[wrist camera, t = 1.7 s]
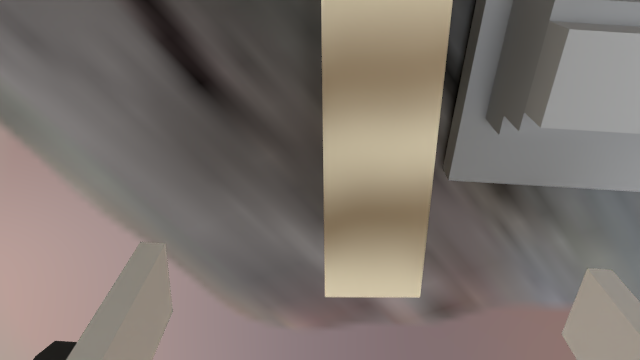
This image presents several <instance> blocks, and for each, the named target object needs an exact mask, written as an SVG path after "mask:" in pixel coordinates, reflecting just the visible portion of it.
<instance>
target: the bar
mask: <svg viewBox="0 0 640 360" xmlns="http://www.w3.org/2000/svg"><path fill="white" fill-rule="evenodd" d="M452 2H453V0H321V20H322V98H323V176H324V254H325V297H420V292H421V283H422V274H423V265H424V256H425V247H426V238H427V229H428V219H429V210H430V201H431V192H432V183H433V174H434V165H435V156H436V147H437V138H438V129H439V120H440V111H441V102H442V93H443V84H444V75H445V66H446V57H447V48H448V38H449V29H450V20H451V11H452Z"/></svg>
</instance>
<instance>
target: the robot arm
mask: <svg viewBox="0 0 640 360" xmlns="http://www.w3.org/2000/svg"><path fill="white" fill-rule="evenodd" d="M172 312H173V309H172V299H171V290H170V281H169V272H168V263H167V254H166V245H165V243H150V242H140V244H139V245H138V247H137V248H136V250H135V252H134V253H133V255H132V256H131V258H130V260H129V261H128V263H127V264H126V266H125V267H124V269H123V271H122V272H121V274H120V275H119V277H118V279H117V280H116V282H115V283H114V285H113V286H112V288H111V290H110V291H109V293H108V295H107V296H106V297H105V299H104V301H103V302H102V304H101V306H100V307H99V309H98V310H97V312H96V313H95V315H94V317H93V318H92V320H91V321H90V323H89V324H88V326H87V328H86V329H85V331H84V332H83V334H82V336H81V337H80V339H79V340H78V342H65V341H54V342H53V343H52V344H50V345H49V346H48V347H47V348H45V349H44V350H43V351H42V352H40V353H39V354H38V355H37V356H35V358H34V359H33V360H152V359H153V357H154V355H155V352H156V350H157V348H158V345H159V343H160V340H161V338H162V336H163V334H164V331H165V329H166V326H167V324H168V322H169V319H170V317H171V315H172ZM562 335H563V337H564V339H565V340H566V342H567V344H568V345H569V347H570V349H571V350H572V352H573V354H574V356H575V357H576V359H577V360H640V302H639V301H638V300H637V299H636V297H635V296H634V295H633V294H632V293H631V292H630V290H629V289H628V288H627V287H626V286H625V285H624V283H623V282H622V281H621V280H620V279H619V278H618V276H617V275H616V274H615V273H614V272H613V271H612V270H608V269H591V268H587V270H586V273H585V276H584V278H583V281H582V283H581V286H580V288H579V291H578V293H577V296H576V299H575V301H574V304H573V306H572V309H571V311H570V314H569V317H568V319H567V322H566V324H565V327H564V330H563V332H562Z"/></svg>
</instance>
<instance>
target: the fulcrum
mask: <svg viewBox="0 0 640 360" xmlns="http://www.w3.org/2000/svg"><path fill="white" fill-rule="evenodd" d="M443 170H444V172H445V174H446V176H447V178H448V180H451V181H467V182H484V183H501V184H518V185H535V186H551V187H568V188H585V189H602V190H619V191H635V192H640V0H476V5H475V10H474V15H473V20H472V25H471V30H470V35H469V40H468V45H467V50H466V55H465V60H464V65H463V70H462V75H461V80H460V85H459V90H458V95H457V100H456V105H455V110H454V115H453V120H452V125H451V130H450V135H449V140H448V145H447V150H446V155H445V160H444V165H443Z"/></svg>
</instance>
